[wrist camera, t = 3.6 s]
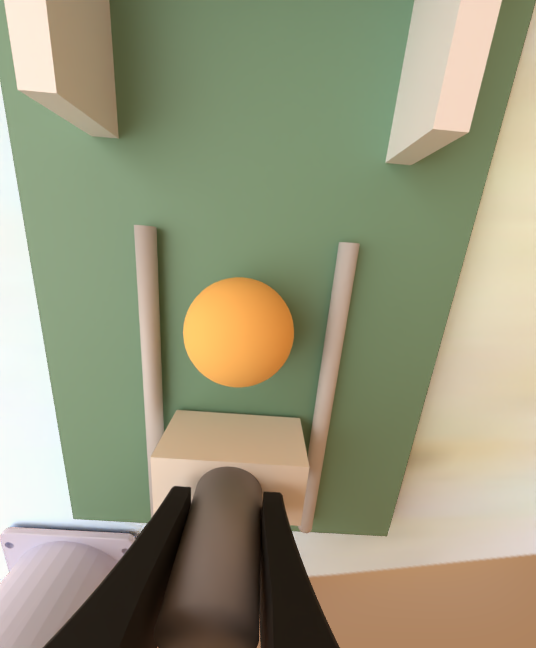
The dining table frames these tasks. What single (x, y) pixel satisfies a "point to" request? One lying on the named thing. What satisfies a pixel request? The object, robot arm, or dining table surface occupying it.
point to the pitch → (250, 237)
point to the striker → (223, 520)
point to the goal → (413, 94)
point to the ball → (238, 332)
